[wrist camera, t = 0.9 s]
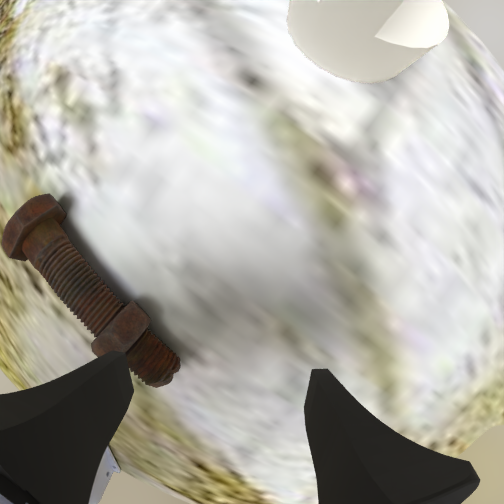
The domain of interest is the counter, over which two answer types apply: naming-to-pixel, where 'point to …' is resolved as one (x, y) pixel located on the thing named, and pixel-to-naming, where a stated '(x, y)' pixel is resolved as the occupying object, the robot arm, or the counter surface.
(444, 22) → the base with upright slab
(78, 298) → the bolt
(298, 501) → the counter surface
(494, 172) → the counter surface
